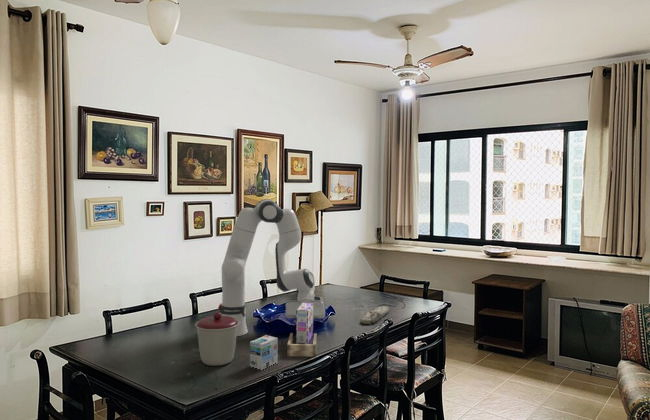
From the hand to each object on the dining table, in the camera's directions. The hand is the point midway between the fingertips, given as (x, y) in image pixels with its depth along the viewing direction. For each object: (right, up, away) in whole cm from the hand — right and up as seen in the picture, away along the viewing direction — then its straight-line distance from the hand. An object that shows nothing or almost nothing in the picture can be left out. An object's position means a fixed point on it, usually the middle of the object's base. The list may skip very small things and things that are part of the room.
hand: (304, 325), depth 237 cm
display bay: (0, -6, -20) cm, 21 cm away
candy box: (0, -5, -7) cm, 9 cm away
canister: (-35, -7, -37) cm, 51 cm away
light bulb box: (-15, -7, -40) cm, 43 cm away
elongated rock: (+39, -4, +34) cm, 52 cm away
